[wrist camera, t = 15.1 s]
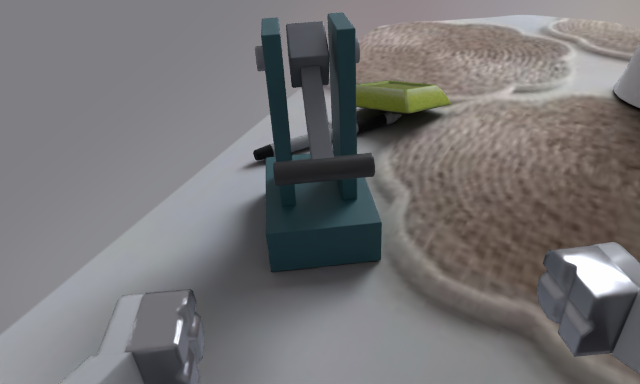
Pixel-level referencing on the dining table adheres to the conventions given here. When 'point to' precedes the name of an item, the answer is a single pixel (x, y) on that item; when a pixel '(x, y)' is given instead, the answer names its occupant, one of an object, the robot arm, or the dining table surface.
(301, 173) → the lever
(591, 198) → the dining table surface
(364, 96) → the saucer
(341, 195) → the teal axle stand
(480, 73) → the dining table surface
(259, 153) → the pen
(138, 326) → the robot arm
